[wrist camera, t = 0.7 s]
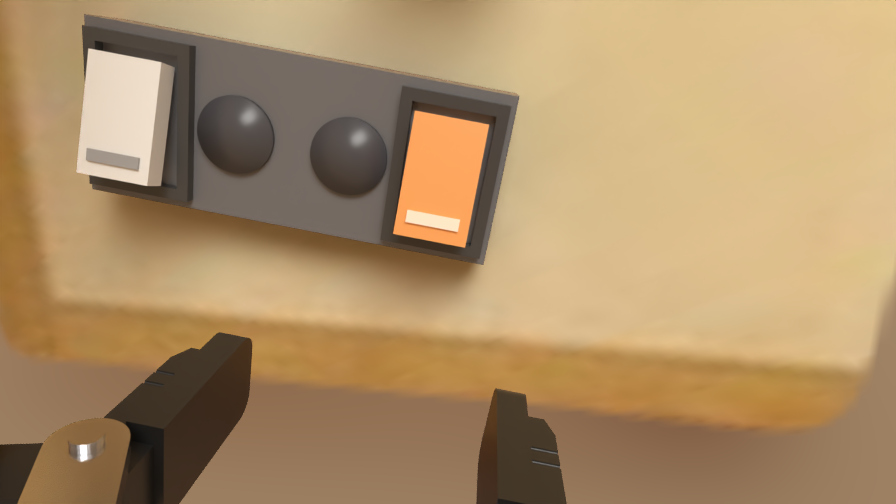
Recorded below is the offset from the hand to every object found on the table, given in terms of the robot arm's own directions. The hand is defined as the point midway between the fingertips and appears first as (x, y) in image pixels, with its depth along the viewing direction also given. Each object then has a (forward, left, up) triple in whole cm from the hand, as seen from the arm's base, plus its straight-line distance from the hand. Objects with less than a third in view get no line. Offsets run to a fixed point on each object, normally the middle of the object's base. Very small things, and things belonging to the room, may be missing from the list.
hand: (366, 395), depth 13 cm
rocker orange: (-2, 0, -15) cm, 15 cm away
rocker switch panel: (-2, -8, -20) cm, 21 cm away
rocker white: (-2, -16, -15) cm, 22 cm away
